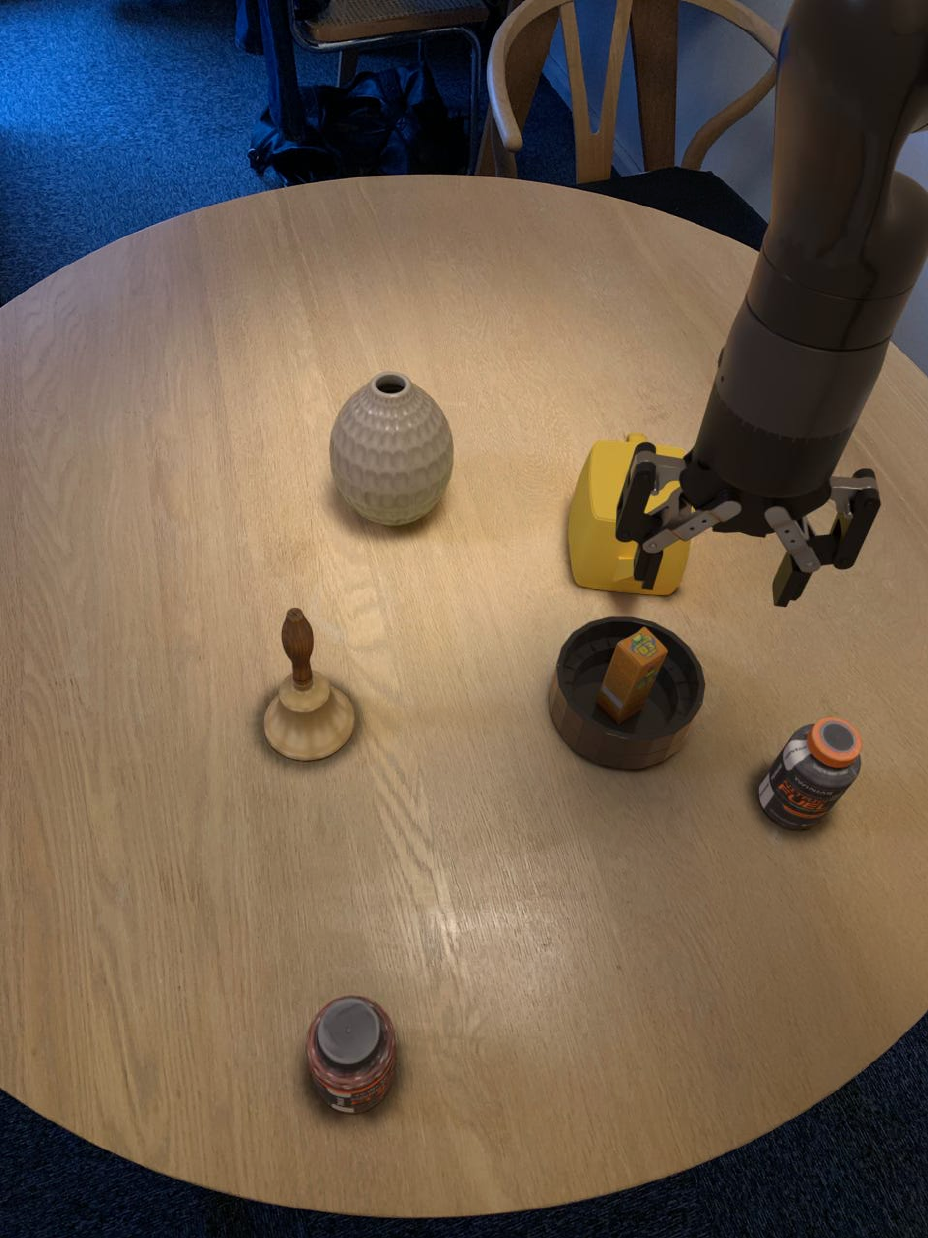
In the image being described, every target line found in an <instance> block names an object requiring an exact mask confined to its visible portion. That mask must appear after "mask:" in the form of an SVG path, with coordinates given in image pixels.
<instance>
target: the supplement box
mask: <svg viewBox="0 0 928 1238" xmlns="http://www.w3.org/2000/svg"><path fill="white" fill-rule="evenodd" d="M667 653H668V650H667V649H666V648H665V647H664V646H663V644H662V643H661V642H660V641H659V640H658V639H657V638H656V637H655V636H654V635H653V634H652V633H651V632H650V631H649V630H648V629H647V628H646V627H643V628H641V629H640V630H639V631H638V632H637V633H635V634H634V635H632V636H630V637H628V638H627V639H624V640H622V641H620V642H619V643H618V644H617V646H616V648H615V651H614V654H613V656H612V659H611V662H610V664H609V667H608V670H607V672H606V675H605V678H604V681H603V683H602V686H601V689H600V692H599V695H598V697H597V703H598V704H599V705H600V706H601V707H602V708H603V709H604V710H605V712H606V713H607V714H608V715H609V716H610V717H611V718H612V719H613V720H614V721H615V722H616V723H617V724H620V723H622V722H623V721H625V720H626V719H628V718H629V717H631V716H632V715H634V714H635V713H637V712H638V711H640V710H641V709H642V707H643V705H644V703H645V701H646V699H647V696H648V694H649V692H650V690H651V688H652V686H653V683H654V681H655V679H656V677H657V675H658V673H659V670H660V668H661V666H662V664H663V661H664V659H665V657H666V655H667Z"/></svg>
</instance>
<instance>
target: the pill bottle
mask: <svg viewBox="0 0 928 1238" xmlns="http://www.w3.org/2000/svg"><path fill="white" fill-rule="evenodd" d="M862 749H863V741H862V737H861V735H860V733H859V731H858V730H857V729H856V728H855V727H854V726H853V725H852V724H851V723H850V722H848V721H846V720H844V719H842V718H839V717H833V716H828V717H823V718H820V719H819V720H817V721H816V722H815V723H810V724H806V725H803V726H801V727H800V728H797V730H795V731H794V732H793V733H792V734H791V736H790V737H789V739H788V740H787V742H786V744H785V745H784V746H783V748H782V749H781V751H780V752H779V753H778V755H777V756H776V758H775V760H774V761H773V763H771V765H770V767H769V769H768V770H767V771H766V772H765V774H764V776H763V777H762V778H761V781H760V783H759V786H758V798H759V802H760V804H761V807H762V809H763V811H764V812H765V813H766V814H767V815H768V817H769V818H770V819H771V820H773V821H774V822H775V823H777V824H778V825H780V826H783V827H784V828H787V829H791V830H795V831H798V830H799V831H803V830H808V829H811V828H813V827H815V826H816V825H818V824H819V823H820V822H821V821H822V820H823V819H824V818H825V816H826V815H827V814H828V813H829V812H830V811H831V809H833V808H834V806H835V805H836V804H837V802H839V800H840V799H841V798H842V796H843V795H844V794H845V793H846V792H847V791H848V789H849V788H850V787H851V786H852V785H853V783H855V781H856V780H857V779H858V777H859V774H860V772H861V767H862V758H861V752H862Z"/></svg>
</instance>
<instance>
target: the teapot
mask: <svg viewBox="0 0 928 1238" xmlns="http://www.w3.org/2000/svg"><path fill="white" fill-rule="evenodd" d="M642 442H648V437H647V436H646V435H645V434H644V433H641V432H630V433H629V434H627V436H626V438H625V441H622V440H605V439H598V440H596V441H594V443H592V446H591V448H590V450H589V452H588V455H587V457H586V459H585V461H584V464H583V466H582V467H581V470H580V473H579V476H578V479H577V482H576V486H575V489H574V493H573V498H572V500H571V505H570V511H569V518H568V549H569V558H570V564H571V571H572V576H573V579H574V582H575V583H576V585H578V587H583V588H587V589H591V590H592V589H593V590H600V591H608V592H610V591H611V592H618V593H627V594H639V595H651V596H652V595H653V596H667V595H668V596H670V595H671V594H673V592H674V591H675V590H676V589H677V588H678V587H679V585H680V584H681V582H682V580H683V578H684V574H685V571H686V567H687V564H688V560H689V555H690V549H691V541H692V539H690V540H688V541H685V542H684V541H682V540H678V541H676V542H675V543H673V544H671V545H670V546H668V547H667V548H665V549H663V558H662V561H661V564H660V568H659V571H658V574H657V577H656V581H655V584H654V587H653V590H646V589H641V581H636V580H635V579H634V575H633V571H634V556H635V553H636V549H637V545H638V543H637V542H635V541H631V542H627V543H624V542H620V541H618V540H617V539H616V537H615V529H616V507H617V504H618V501H619V498H620V494H621V491H622V488H623V485H624V482H625V479H626V476H627V473H628V470H629V466H630V463H631V460H632V457H633V454H634V451H635V448H636V446H637V445H638V444H640V443H642ZM653 444H654V443H653ZM654 445H655V447H656V454H658V455H664V456H670V457H676V458H683V457H684V456H685V455H686V454H687V453H686V451H685V450H684V449H683V448H681V447H677V446H672V445H663V444H654ZM678 487H680V484H679V481H671V482H669V483H667V484H666V485H665V487H664V488H663V489H662V490H660V491H659V494H658V495H656V496H652V495H651V494H650V497H649V500H648V503H647V505H646V508H645V511H644V513H646V514H647V513H648V512H650V511H651V510H653V509H655V508H656V507H658V506H659V505H661V504H662V503H664V502H665V501H667V499H668V498H669V495H670V494H671V493H672V492H673V491H674V490H675V489H677V488H678ZM693 512H694V508H693V506H692V513H693Z"/></svg>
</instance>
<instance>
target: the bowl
mask: <svg viewBox="0 0 928 1238" xmlns="http://www.w3.org/2000/svg"><path fill="white" fill-rule="evenodd" d="M643 627H646V628H647V629H648V630H649V631H650V632H651V633H652V634H653V635H654V636H655V637H656V638H657V639H658V640H659V641H660V642H661V643H662V644H663V646H664V647H665V648H666V649H667V650H668V653H667V655H666V657H665V659H664V661H663V664H662V666H661V668H660V670H659V673H658V675H657V677H656V679H655V681H654V683H653V686H652V688H651V690H650V692H649V694H648V696H647V699H646V701H645V703H644V705H643V707H642V709H641V710H640V711H638V712H637V713H635V714H634V715H632V716H631V717H629V718H628V719H626V720H625V721H623V722H622V723H620V724H617V723H616V722H615V721H614V720H613V719H612V718H611V717H610V716H609V715H608V714H607V713H606V712H605V710H604V709H603V708H602V707H601V706H600V705H599V704H598V703H597V697H598V695H599V692H600V689H601V686H602V683H603V681H604V678H605V675H606V672H607V670H608V667H609V664H610V662H611V659H612V656H613V654H614V651H615V648H616V646H617V644H618V643H619V642H620V641H622V640H624V639H627V638H628V637H630V636H632V635H634V634H635V633H637V632H638V631H639V630H640V629H641V628H643ZM705 691H706V681H705V677H704V672H703V667H702V665H701V663H700V661H699V659H698V658H697V655H695V653H694V651H693V649H692V647H690V646H689V645H688V644H687V643H686V642H685V641H684V640H682V638H680V637H679V635H677V634H676V633H675V632H674V631H672V630H670V629H668V628H666V627H664V626H663V625H660V624H658V623H657V622H655V621H652V620H648V619H644V618H639V617H637V616H632V615H631V616H629V615H625V616H624V615H623V616H622V615H621V616H620V615H610V616H606V617H602V618H597V619H594V620H590V621H588V622H586V623H585V624H583V625H581V626H580V627H579V628H577V629H575V630H574V631H572V633H571V634H570V635H569V636H568V637H567V639H566V640H565V641H564V643H563V644H562V645H561V647H560V650H559V653H558V657H557V661H556V663H555V668H554V673H553V677H552V682H551V687H550V691H549V695H548V699H549V708H550V716H551V718H552V719H553V722H554V724H555V726H556V729H557V730H558V733H559V734H560V735H561V737H562V738H563V739H564V740H565V741H566V742H567V743H568V744H569V745H570V746H571V747H572V748H573V749H574V750H575V751H576V752H577V753H578V754H581V755H582V756H585V757H586V758H588V759H590V760H591V761H592V762H593V763H597V764H599V765H603V766H607V767H611V768H615V769H644V768H647V767H651V766H653V765H656V764H660V763H663V762H664V761H666V760H667V759H668V758H670V757H671V756H672V755H674V754H675V753H677V752H678V751H679V750H680V748H681V747H682V745H683V744H684V742H685V740H686V739H687V737H688V735H689V734H690V731H691V730H692V727H693V724H694V723H695V722H696V719H697V716H698V715H699V712H700V711H701V708H702V706H703V704H704V697H705Z"/></svg>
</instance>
